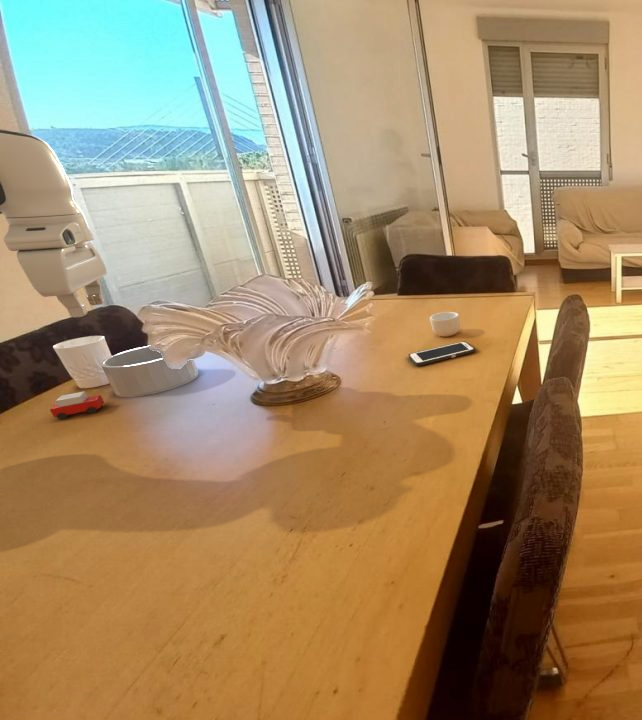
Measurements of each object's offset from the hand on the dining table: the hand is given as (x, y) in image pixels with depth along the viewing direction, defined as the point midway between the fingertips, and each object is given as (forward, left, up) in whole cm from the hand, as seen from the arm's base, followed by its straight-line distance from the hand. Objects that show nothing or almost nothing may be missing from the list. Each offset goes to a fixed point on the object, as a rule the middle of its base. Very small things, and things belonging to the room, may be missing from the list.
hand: (89, 309), depth 87 cm
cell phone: (+58, -6, -21) cm, 62 cm away
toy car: (-10, +6, -21) cm, 24 cm away
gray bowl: (0, +16, -21) cm, 26 cm away
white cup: (-11, +24, -21) cm, 34 cm away
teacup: (+63, +11, -21) cm, 68 cm away
